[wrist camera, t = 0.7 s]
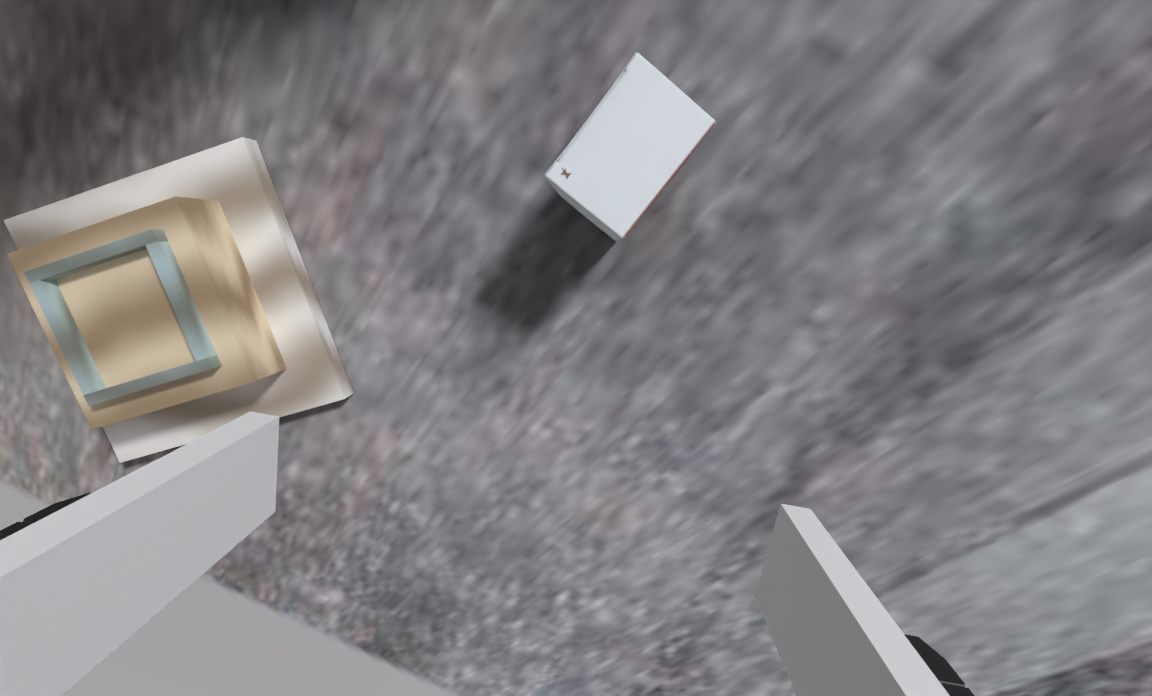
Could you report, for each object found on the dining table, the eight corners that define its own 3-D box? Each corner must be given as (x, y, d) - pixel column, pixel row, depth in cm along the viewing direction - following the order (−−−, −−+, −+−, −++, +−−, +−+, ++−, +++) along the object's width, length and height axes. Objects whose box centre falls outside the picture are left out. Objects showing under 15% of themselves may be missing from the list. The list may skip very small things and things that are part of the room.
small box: (616, 242, 39) (621, 244, 29) (556, 194, 39) (540, 177, 29) (688, 153, 38) (720, 120, 28) (627, 101, 37) (636, 48, 27)
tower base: (24, 221, 41) (-81, 217, 35) (256, 140, 39) (188, 121, 33) (135, 455, 45) (58, 491, 38) (353, 393, 43) (309, 420, 36)
